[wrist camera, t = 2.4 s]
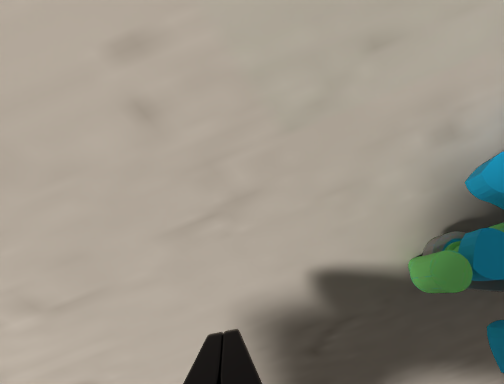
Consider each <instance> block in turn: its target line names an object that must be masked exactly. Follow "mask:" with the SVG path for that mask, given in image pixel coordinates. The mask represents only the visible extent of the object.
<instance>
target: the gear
mask: <svg viewBox="0 0 504 384" xmlns="http://www.w3.org/2000/svg"><path fill="white" fill-rule="evenodd" d="M465 184H466V186H467V188H468V190H469V191H470V193H472V194H473V195H474V196H475V197H477V198H478V199H480V200H483V201H486V202H489V203H492V204H494V205H496V206H498V207H500V208H501V209H503V210H504V152H501V153H500V154H498V155H496V156H495V157H493V158H492V159H490V160H488V161H487V162H485V163H483V164H482V165H481V166H479V167H478V168H477V169H476V170H475V171H474V172H473V173H472V174H471V175H470V176H469V178H468V179H467V180H466V182H465ZM408 268H409V271H410V277H411V280H412V282H413V283H414V285H415V286H416V287H417V288H418V289H420V290H421V291H423V292H427V293H456V292H461V291H463V290H465V289H469V290H483V291H497V292H504V222H503V223H500V224H497V225H493V226H490V227H488V228H482V229H479V230H475V231H472V232H469V233H464V232H449V233H446V234H443V235H441V236H438V237H435V238H433V239H432V240H430V241H429V242H428V243H427V245H426V246H425V248H424V251H423V256H419V257H416V258H413V259H411V260H410V261H409V264H408ZM487 336H488V340H489V345H490V348H491V350H492V353H493V356H494V358H495V360H496V362H497V364H498V366H499V368H500V371H501V372H502V373H504V320H497V321H494V322H492V323H490V324H489V325H488V326H487Z"/></svg>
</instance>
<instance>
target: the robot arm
mask: <svg viewBox="0 0 504 384" xmlns="http://www.w3.org/2000/svg"><path fill="white" fill-rule="evenodd" d="M183 384H262V382H261V380H260V378H259V375H258V373H257V371H256V368H255V366H254V364H253V362H252V359H251V357H250V355H249V352H248V350H247V348H246V345H245V343H244V341H243V338H242V336H241V334H240V332H239V330H238V329H234V330H229V331H225V332H224V333H222V332H219V333H214V334H210V335H208V336H207V338H206V340H205V342H204V344H203V346H202V348H201V350H200V352H199V354H198V356H197V358H196V360H195V362H194V364H193V366H192V368H191V370H190V371H189V373H188V375H187V377H186V379H185V381H184V383H183Z"/></svg>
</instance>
